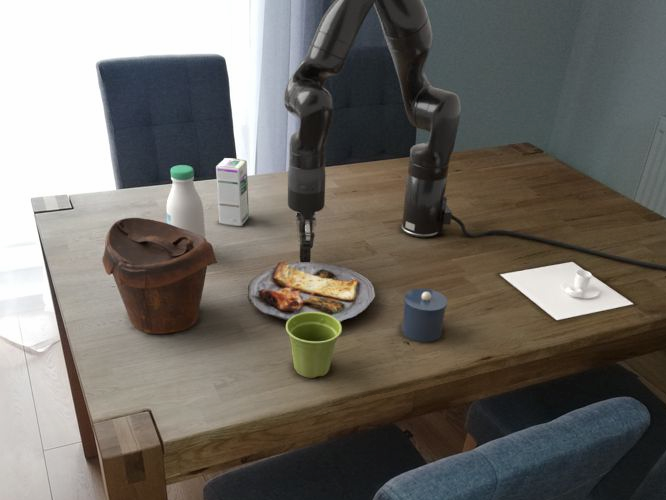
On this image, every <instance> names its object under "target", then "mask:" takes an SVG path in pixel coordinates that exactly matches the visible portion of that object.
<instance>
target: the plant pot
mask: <svg viewBox="0 0 666 500" xmlns="http://www.w3.org/2000/svg"><path fill="white" fill-rule="evenodd" d="M342 329H343V327H342V324H341V322H339V321H338V320H337V319H336V318H334V317H332V316H330V315H328V314H325V313H321V312H304V313H300V314H297V315H294V316H293V317H291V318H290V319H289V320H288V321H286V323H285V330H286V333H287V335H288V337H289V339H290V345H291V352H292V359H293V361H292V362H293V367H294V370H295V371H296V373H297V374H298V375H300V376H301V377H304V378H310V379H315V378H316V377H324V376H325V375H327V374H328V373H329V371H330V367H331V363H332V358H333V355H334V350H335V346H336V342H337V341H338V338H339V337H340V336H341V334H342Z"/></svg>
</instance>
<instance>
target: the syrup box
mask: <svg viewBox="0 0 666 500" xmlns="http://www.w3.org/2000/svg"><path fill="white" fill-rule="evenodd" d="M215 173H216V174H215V175H216V176H215V177H216V187H217V188H216V191H217V205H218V222H219V224H222V225H227V226H235V227H243V225H244V224H245V223H246V221H247V220H248V218H249V216H250V210H249V208H250V207H249V186H248V185H249V183H248V162H247V160H246V159H241V158H232V157H231V158H230V157H228V158H227V157H224V158H223V160H221V161H220V162H218V164H217V165H216V166H215Z"/></svg>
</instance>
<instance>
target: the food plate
mask: <svg viewBox="0 0 666 500" xmlns="http://www.w3.org/2000/svg"><path fill="white" fill-rule="evenodd" d="M375 297H376V292H375V288H374V286H373V284H372V281H370V280H369V279H368V278H367V277H366V276H365V275H362V274H360V273H358V272H356V271H355V270H353V269H351V268H348V267H345V266H341V265H335V264H330V263H323V262H317V261H315V262H314V261H310V262H293V263H286V262H285V261H279V262H278V263H277V265H276V266H275V267H272V268H269V269H267V270H265V271H263V272H260V274H258V275H256V276H255V277H253V279H252V280H251V281H250V282H249V284H248V286H247V299H248V301H249V303H251V305H252V306H253V307H255V308H256V310H257V311H258V312H261V313H264V314H266V315H270V316H274V317H276V318H278V319H282V320H286V322H287V321H288V320H289V319H290V318H291V317H293V316H294V315H297V314H300V313H304V312H321V313H325V314H328V315H330V316H332V317H334V318H336V319H337V320H338V321H339V322H340V323H341V322H343V321H344V320H347V319H352V318H353V317H356V316H358V314H361V313H362V312H363V311H365V310H366V309H367V308H368V307H369V305H371V303H372V302H373V300H374V299H375Z"/></svg>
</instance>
